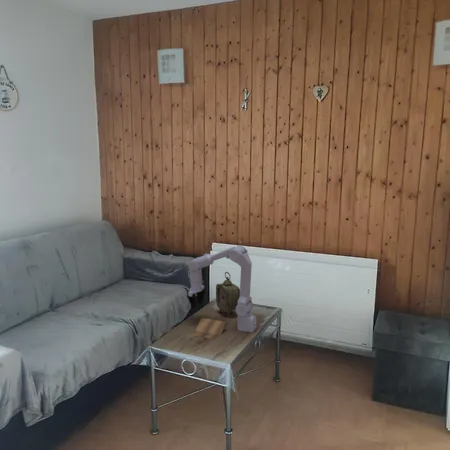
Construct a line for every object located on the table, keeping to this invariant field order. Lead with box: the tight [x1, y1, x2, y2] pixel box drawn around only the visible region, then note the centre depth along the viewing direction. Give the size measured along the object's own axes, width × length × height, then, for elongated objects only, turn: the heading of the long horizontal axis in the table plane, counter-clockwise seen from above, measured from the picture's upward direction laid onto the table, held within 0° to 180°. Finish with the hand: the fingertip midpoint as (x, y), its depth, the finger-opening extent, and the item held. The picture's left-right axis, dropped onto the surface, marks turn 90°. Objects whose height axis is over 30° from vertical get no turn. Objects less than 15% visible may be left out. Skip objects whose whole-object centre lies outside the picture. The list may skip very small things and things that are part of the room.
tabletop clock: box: [215, 271, 240, 319], centre depth 246 cm, size 14×9×25 cm, turn 25°
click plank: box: [195, 317, 227, 336], centre depth 223 cm, size 14×8×1 cm
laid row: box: [190, 330, 221, 340], centre depth 217 cm, size 14×5×1 cm, turn 66°
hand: (196, 305), depth 235 cm, fingers open, 7 cm apart
